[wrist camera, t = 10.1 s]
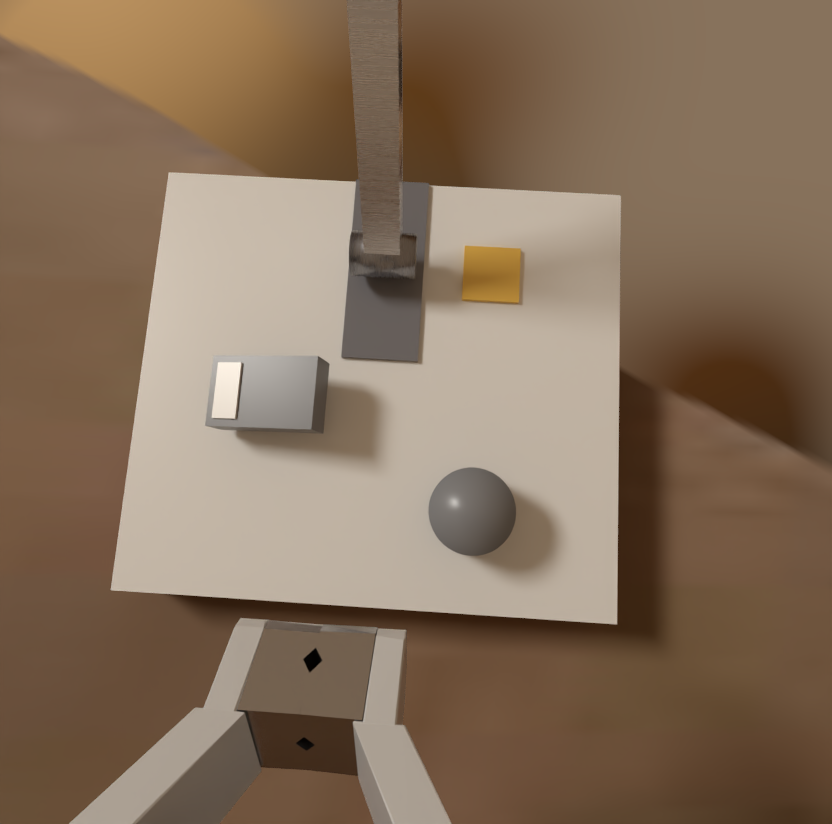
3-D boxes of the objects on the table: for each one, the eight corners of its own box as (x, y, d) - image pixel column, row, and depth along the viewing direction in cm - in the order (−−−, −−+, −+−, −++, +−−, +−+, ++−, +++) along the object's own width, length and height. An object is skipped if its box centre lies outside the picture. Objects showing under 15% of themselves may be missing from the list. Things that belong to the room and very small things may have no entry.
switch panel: (600, 227, 29) (622, 193, 25) (594, 610, 26) (618, 625, 23) (194, 206, 29) (166, 169, 26) (146, 580, 26) (108, 590, 23)
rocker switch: (329, 363, 23) (317, 355, 22) (323, 433, 23) (310, 428, 22) (229, 362, 24) (211, 354, 23) (221, 429, 24) (203, 425, 23)
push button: (510, 472, 23) (517, 470, 22) (507, 554, 23) (514, 558, 21) (430, 467, 24) (431, 464, 22) (425, 549, 23) (425, 552, 21)
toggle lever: (418, 299, 24) (431, -193, 12) (344, 294, 24) (289, -198, 12) (422, 250, 25) (436, -218, 14) (353, 247, 25) (313, -223, 14)
